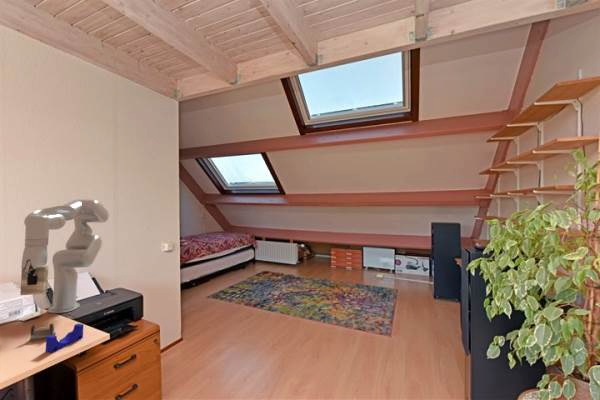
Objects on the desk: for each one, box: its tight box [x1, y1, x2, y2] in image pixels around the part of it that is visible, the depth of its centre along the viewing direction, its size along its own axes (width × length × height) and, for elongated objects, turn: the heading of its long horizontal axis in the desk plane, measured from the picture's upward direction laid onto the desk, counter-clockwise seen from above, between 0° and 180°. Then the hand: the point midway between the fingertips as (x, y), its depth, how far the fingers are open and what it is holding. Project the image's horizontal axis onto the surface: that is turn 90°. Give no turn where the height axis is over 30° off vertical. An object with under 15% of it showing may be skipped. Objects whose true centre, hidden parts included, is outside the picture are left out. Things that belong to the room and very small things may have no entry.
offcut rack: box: [29, 323, 57, 342], centre depth 113 cm, size 4×7×6 cm, turn 110°
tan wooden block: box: [20, 265, 49, 296], centre depth 119 cm, size 3×8×12 cm, turn 109°
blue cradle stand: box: [45, 323, 85, 354], centre depth 109 cm, size 12×4×6 cm, turn 168°
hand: (34, 283), depth 119 cm, fingers closed on tan wooden block, 3 cm apart
